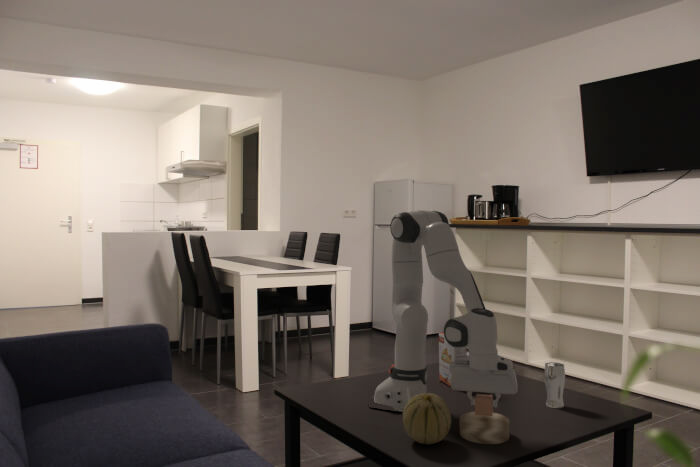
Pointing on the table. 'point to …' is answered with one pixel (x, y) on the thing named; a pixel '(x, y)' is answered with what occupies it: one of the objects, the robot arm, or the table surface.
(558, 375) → the beer glass
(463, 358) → the cracker box
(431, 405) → the cantaloupe
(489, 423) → the birch pedestal
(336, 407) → the table surface
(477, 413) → the terracotta cube
